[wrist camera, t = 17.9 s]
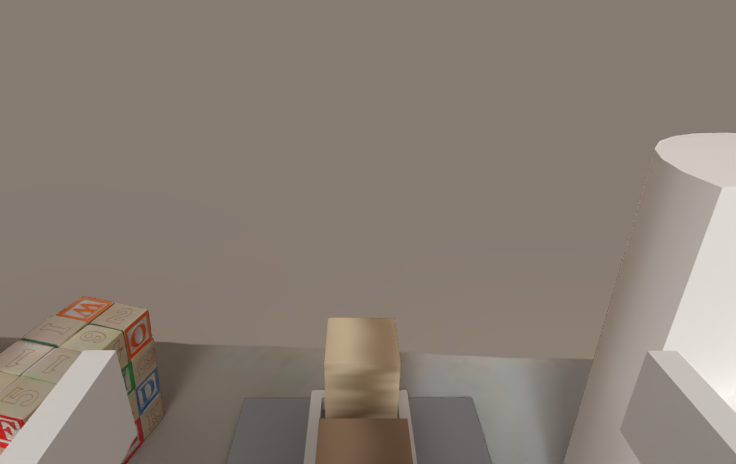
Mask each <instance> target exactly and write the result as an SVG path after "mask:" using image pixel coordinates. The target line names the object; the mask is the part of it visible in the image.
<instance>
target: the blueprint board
mask: <svg viewBox="0 0 736 464" xmlns="http://www.w3.org/2000/svg"><path fill="white" fill-rule="evenodd" d="M397 418H408V426H409V434H410V442H411V450H412V458H413V464H492V462H491V459H490V456H489V453H488V449H487V446H486V443H485V439H484V436H483V433H482V429H481V426H480V423H479V420H478V416H477V413H476V410H475V406H474V403H473V400H472V398H408V394H407V390H399V397H398V412H397ZM319 419H325V390H312V392H311V398H245V399H244V402H243V406H242V409H241V413H240V417H239V420H238V424H237V427H236V431H235V434H234V438H233V441H232V445H231V449H230V452H229V456H228V459H227V463H226V464H315V459H316V448H317V437H318V426H319Z"/></svg>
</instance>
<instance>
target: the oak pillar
mask: <svg viewBox="0 0 736 464" xmlns="http://www.w3.org/2000/svg"><path fill="white" fill-rule="evenodd" d="M400 368H401V361H400V353H399V346H398V338H397V331H396V323H395V318H328V326H327V338H326V350H325V362H324V370H325V419H374V418H397V412H398V397H399V383H400Z"/></svg>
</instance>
